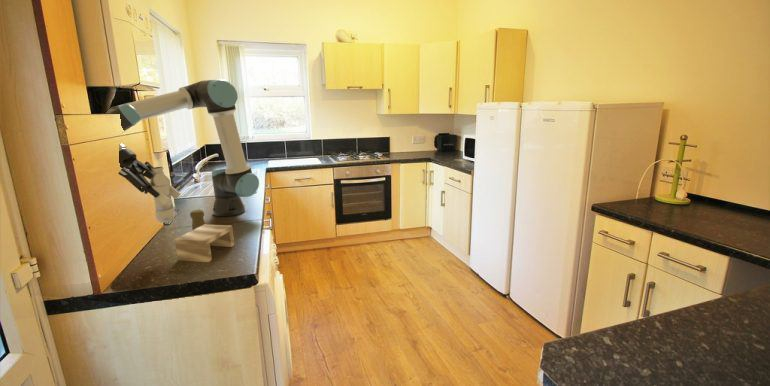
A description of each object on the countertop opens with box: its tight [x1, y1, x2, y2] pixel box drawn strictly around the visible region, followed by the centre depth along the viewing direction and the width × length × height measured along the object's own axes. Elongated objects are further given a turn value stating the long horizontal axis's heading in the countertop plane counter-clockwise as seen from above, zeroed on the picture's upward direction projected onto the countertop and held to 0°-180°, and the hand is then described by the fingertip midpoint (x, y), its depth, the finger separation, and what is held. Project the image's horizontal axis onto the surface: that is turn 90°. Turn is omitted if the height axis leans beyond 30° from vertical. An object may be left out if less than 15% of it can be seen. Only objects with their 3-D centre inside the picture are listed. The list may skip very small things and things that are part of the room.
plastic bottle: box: [149, 166, 177, 223], centre depth 129 cm, size 6×7×20 cm
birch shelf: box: [174, 223, 235, 263], centre depth 134 cm, size 16×12×8 cm
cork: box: [189, 209, 206, 231], centre depth 151 cm, size 6×6×11 cm
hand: (172, 199), depth 130 cm, fingers closed on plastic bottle, 6 cm apart
